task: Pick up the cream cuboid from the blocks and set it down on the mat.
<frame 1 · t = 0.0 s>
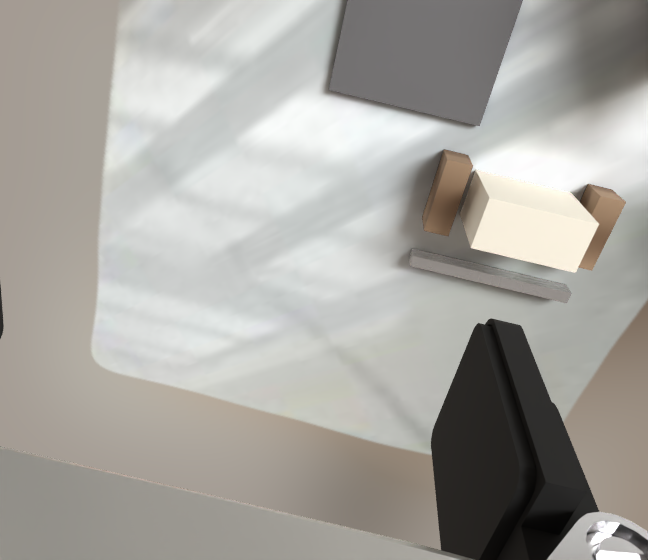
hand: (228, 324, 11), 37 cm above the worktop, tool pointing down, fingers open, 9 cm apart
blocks: (514, 203, 47), on the worktop
mat: (420, 46, 42), on the worktop
cream cuboid: (514, 203, 47), on the worktop
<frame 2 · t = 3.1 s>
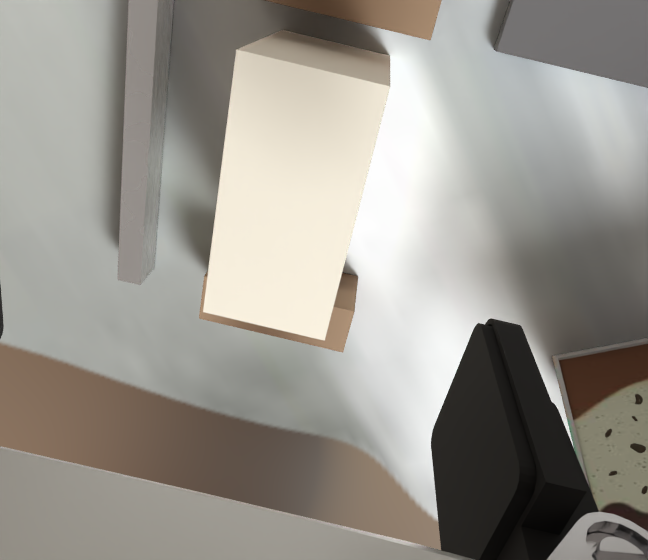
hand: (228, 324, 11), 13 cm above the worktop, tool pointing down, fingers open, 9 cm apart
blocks: (314, 149, 22), on the worktop
cream cuboid: (314, 149, 22), on the worktop
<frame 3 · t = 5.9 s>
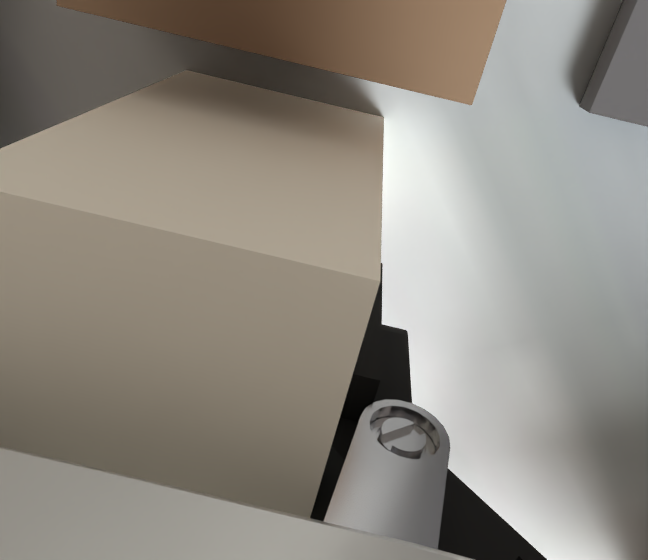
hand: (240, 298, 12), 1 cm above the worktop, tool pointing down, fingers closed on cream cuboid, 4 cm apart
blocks: (255, 268, 13), on the worktop
cream cuboid: (254, 269, 13), on the worktop, touching gripper
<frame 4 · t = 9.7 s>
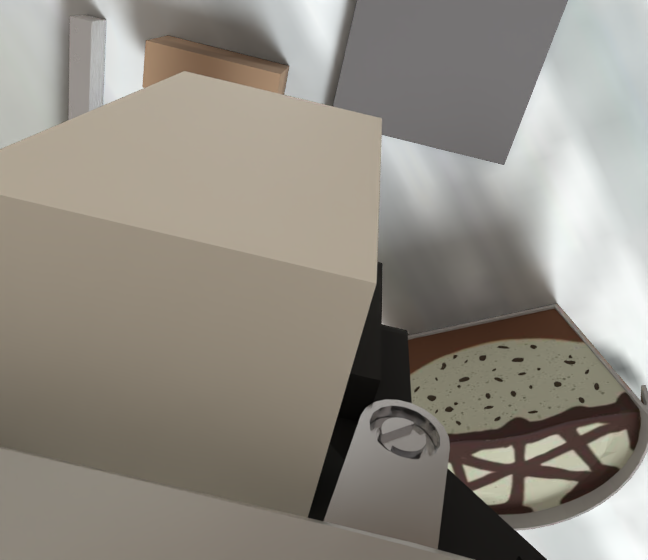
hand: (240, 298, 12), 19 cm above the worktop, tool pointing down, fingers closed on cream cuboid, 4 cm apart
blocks: (210, 186, 30), on the worktop
mat: (455, 12, 26), on the worktop
food container: (483, 360, 35), on the worktop
cream cuboid: (253, 270, 13), point 17 cm above the worktop, touching gripper
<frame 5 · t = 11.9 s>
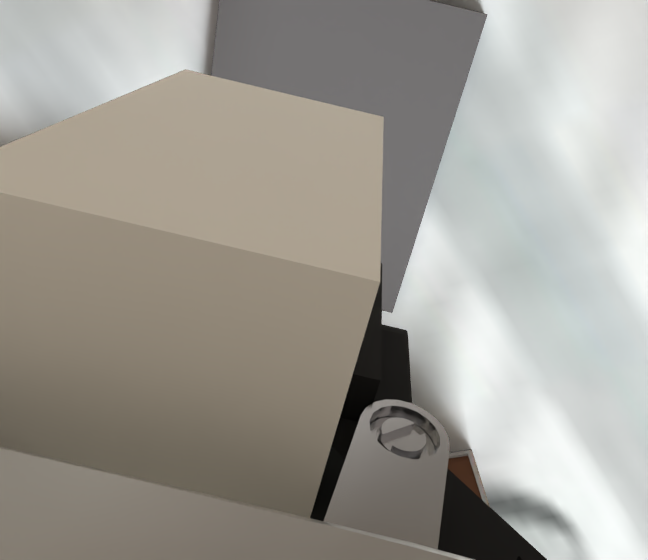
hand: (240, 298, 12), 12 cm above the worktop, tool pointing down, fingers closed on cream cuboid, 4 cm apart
mat: (321, 151, 22), on the worktop
food container: (396, 501, 31), on the worktop
cream cuboid: (254, 269, 13), point 10 cm above the worktop, touching gripper
when the fingers open (4 cm above the worktop, at t = 13.7 s): cream cuboid drops 2 cm, resting on mat.
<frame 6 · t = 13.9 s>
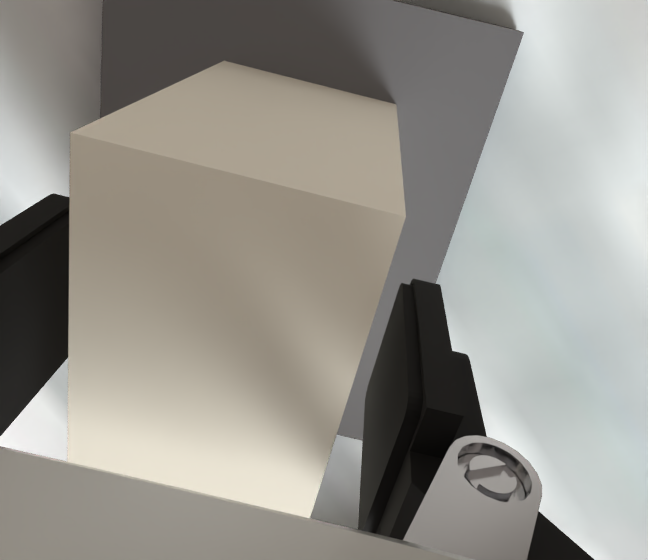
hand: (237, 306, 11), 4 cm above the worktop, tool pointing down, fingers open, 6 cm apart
mat: (272, 229, 15), on the worktop
cream cuboid: (278, 240, 15), point 1 cm above the worktop, touching mat
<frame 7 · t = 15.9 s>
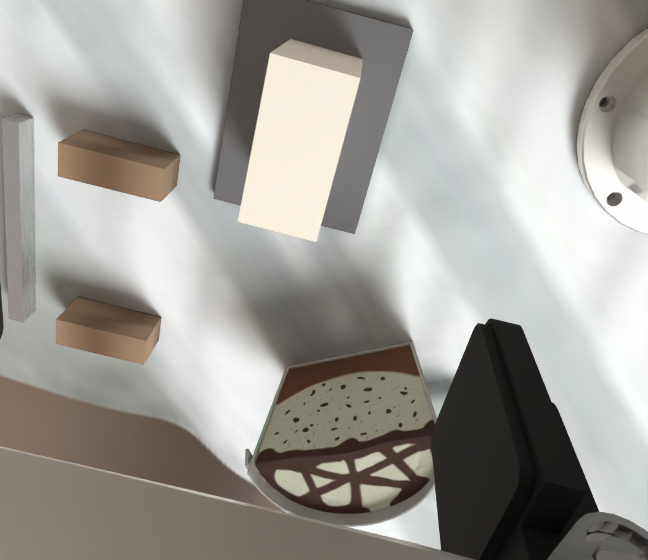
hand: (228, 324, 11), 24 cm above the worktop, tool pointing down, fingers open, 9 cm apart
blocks: (124, 244, 37), on the worktop
mat: (306, 118, 33), on the worktop
food container: (359, 385, 42), on the worktop
cream cuboid: (309, 121, 32), point 1 cm above the worktop, touching mat
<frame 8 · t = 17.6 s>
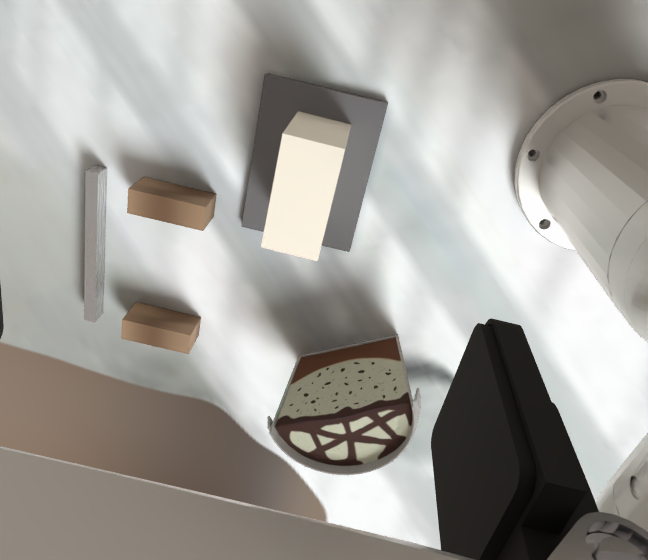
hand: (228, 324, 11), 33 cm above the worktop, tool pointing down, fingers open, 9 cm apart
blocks: (172, 261, 49), on the worktop
mat: (310, 166, 44), on the worktop
food container: (357, 370, 52), on the worktop
cream cuboid: (313, 169, 43), point 1 cm above the worktop, touching mat
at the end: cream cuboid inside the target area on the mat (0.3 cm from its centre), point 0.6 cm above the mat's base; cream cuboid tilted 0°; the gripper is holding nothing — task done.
